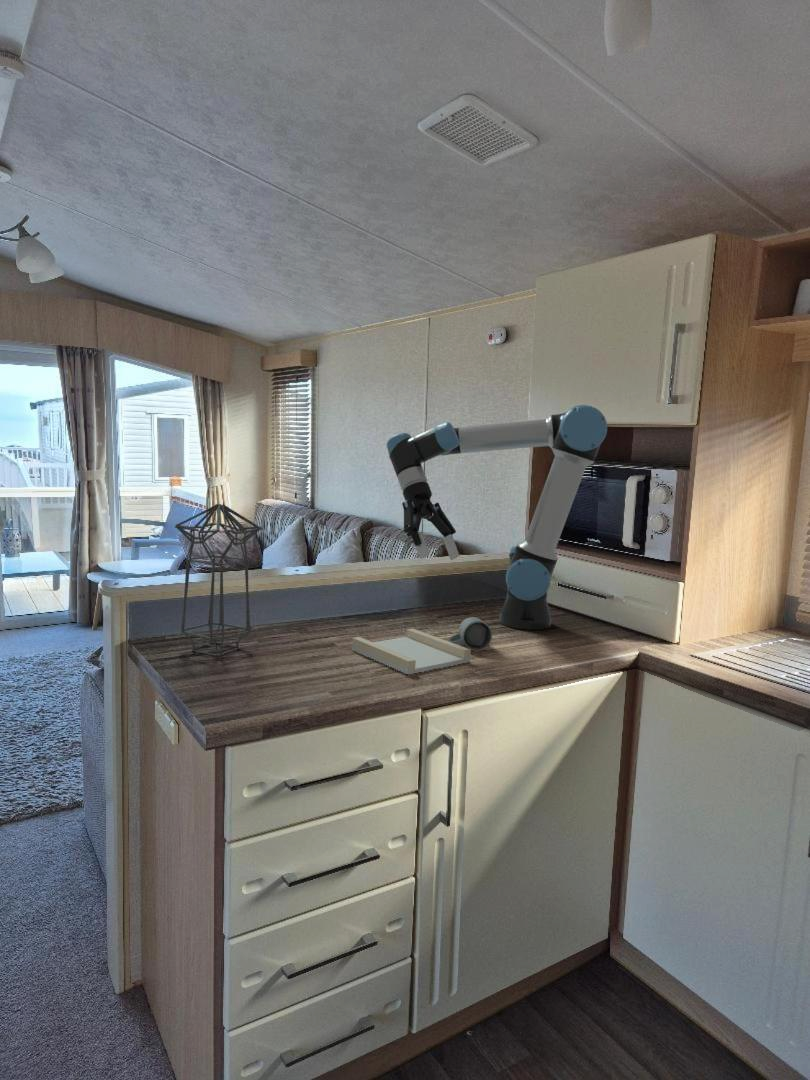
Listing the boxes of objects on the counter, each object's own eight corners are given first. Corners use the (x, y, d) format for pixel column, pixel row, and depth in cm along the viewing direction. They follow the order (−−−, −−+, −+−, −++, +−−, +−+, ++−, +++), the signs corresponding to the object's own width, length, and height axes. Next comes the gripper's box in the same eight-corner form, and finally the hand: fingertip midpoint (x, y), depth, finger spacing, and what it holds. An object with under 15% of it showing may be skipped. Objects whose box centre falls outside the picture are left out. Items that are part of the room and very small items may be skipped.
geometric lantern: (167, 651, 169) (169, 502, 165) (214, 638, 183) (217, 501, 179) (219, 663, 162) (222, 507, 158) (263, 648, 175) (267, 505, 172)
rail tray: (411, 640, 189) (412, 628, 188) (469, 662, 172) (470, 649, 171) (352, 650, 177) (352, 637, 176) (407, 675, 160) (408, 661, 159)
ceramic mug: (483, 642, 190) (484, 613, 189) (491, 651, 182) (493, 621, 181) (444, 642, 189) (445, 614, 188) (450, 651, 181) (452, 621, 180)
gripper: (432, 497, 209) (456, 563, 203) (375, 489, 190) (400, 562, 183) (451, 485, 205) (477, 552, 198) (395, 475, 185) (421, 549, 179)
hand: (440, 557), depth 191 cm, fingers open, 13 cm apart
